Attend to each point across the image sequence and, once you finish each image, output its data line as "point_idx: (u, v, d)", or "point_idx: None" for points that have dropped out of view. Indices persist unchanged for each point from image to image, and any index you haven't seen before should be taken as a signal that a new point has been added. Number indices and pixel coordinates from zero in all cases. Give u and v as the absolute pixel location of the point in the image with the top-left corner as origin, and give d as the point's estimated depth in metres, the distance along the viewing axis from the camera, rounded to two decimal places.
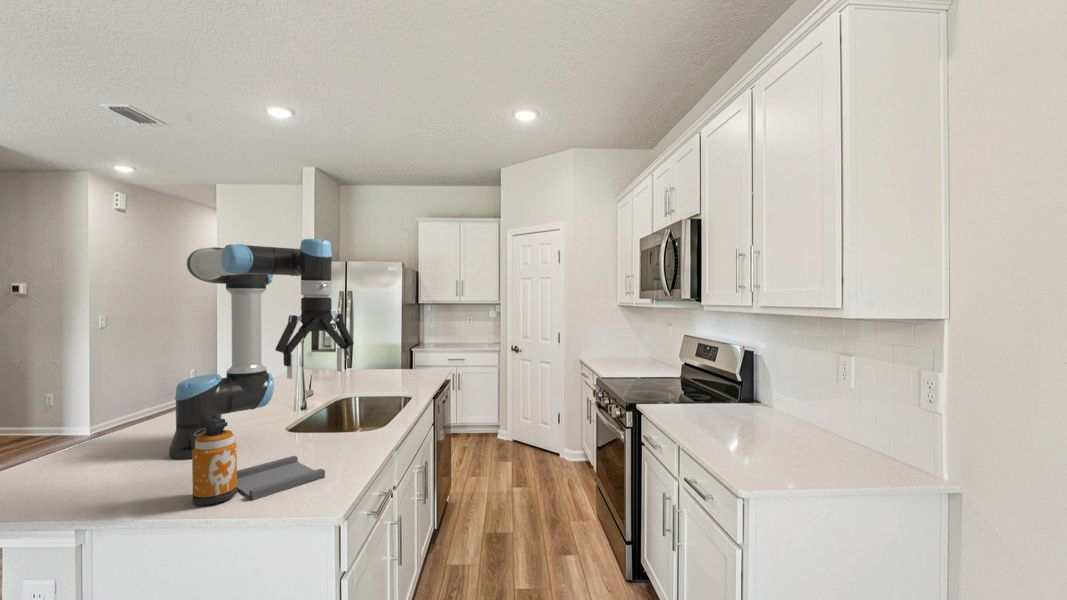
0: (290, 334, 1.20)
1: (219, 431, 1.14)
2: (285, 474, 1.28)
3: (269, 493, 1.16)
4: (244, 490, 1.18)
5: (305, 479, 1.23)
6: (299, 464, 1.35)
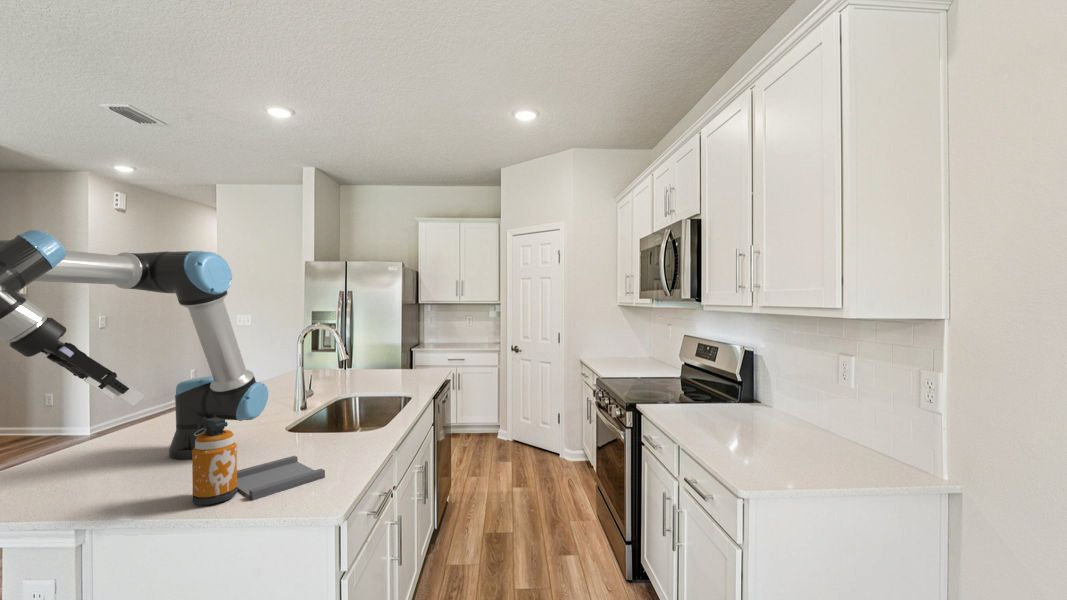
0: None
1: (219, 431, 1.14)
2: (285, 474, 1.28)
3: (269, 493, 1.16)
4: (244, 490, 1.18)
5: (305, 479, 1.23)
6: (299, 464, 1.35)
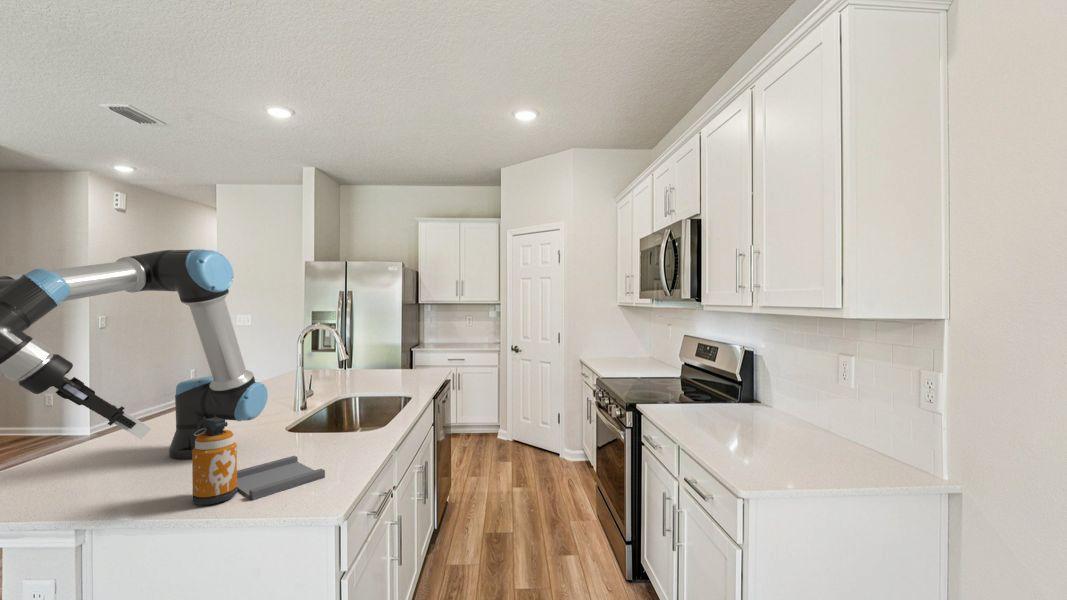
0: None
1: (219, 431, 1.14)
2: (285, 474, 1.28)
3: (269, 493, 1.16)
4: (244, 490, 1.18)
5: (305, 479, 1.23)
6: (299, 464, 1.35)
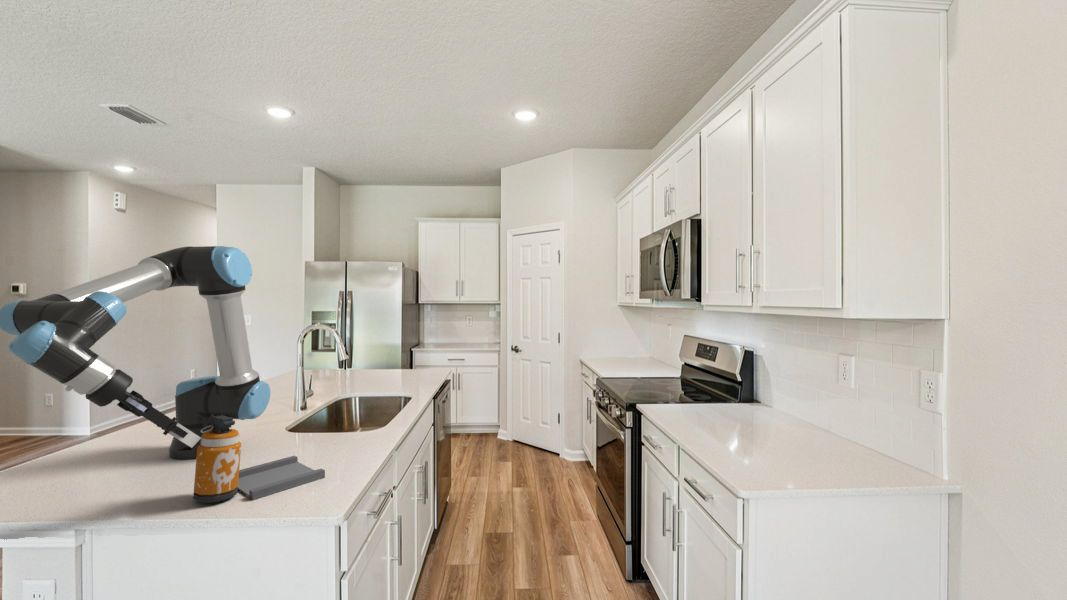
0: None
1: (225, 429, 1.15)
2: (285, 474, 1.28)
3: (269, 493, 1.16)
4: (244, 490, 1.18)
5: (305, 479, 1.23)
6: (299, 464, 1.35)
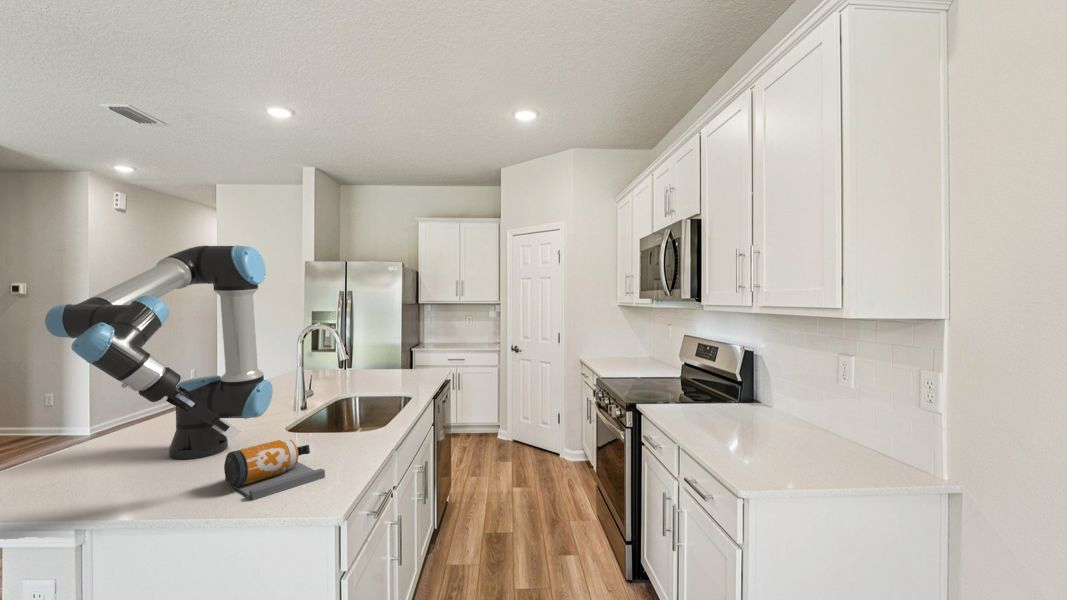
0: None
1: None
2: (285, 474, 1.28)
3: (269, 493, 1.16)
4: (244, 490, 1.18)
5: (305, 479, 1.23)
6: (299, 464, 1.35)
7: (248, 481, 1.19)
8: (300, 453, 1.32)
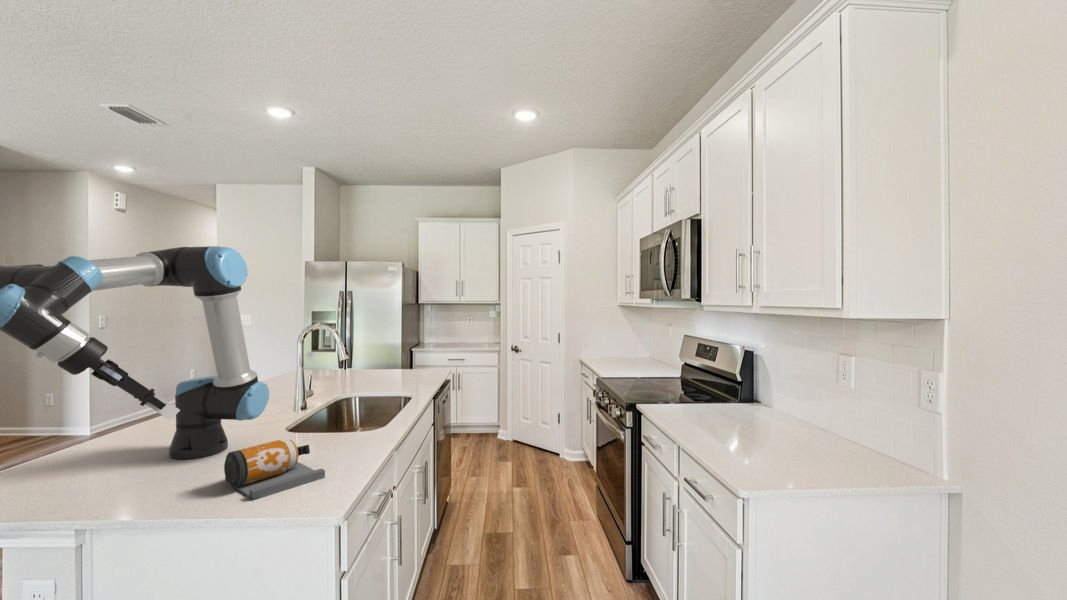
0: None
1: None
2: (285, 474, 1.28)
3: (269, 493, 1.16)
4: (244, 490, 1.18)
5: (305, 479, 1.23)
6: (299, 464, 1.35)
7: (248, 481, 1.19)
8: (300, 453, 1.32)
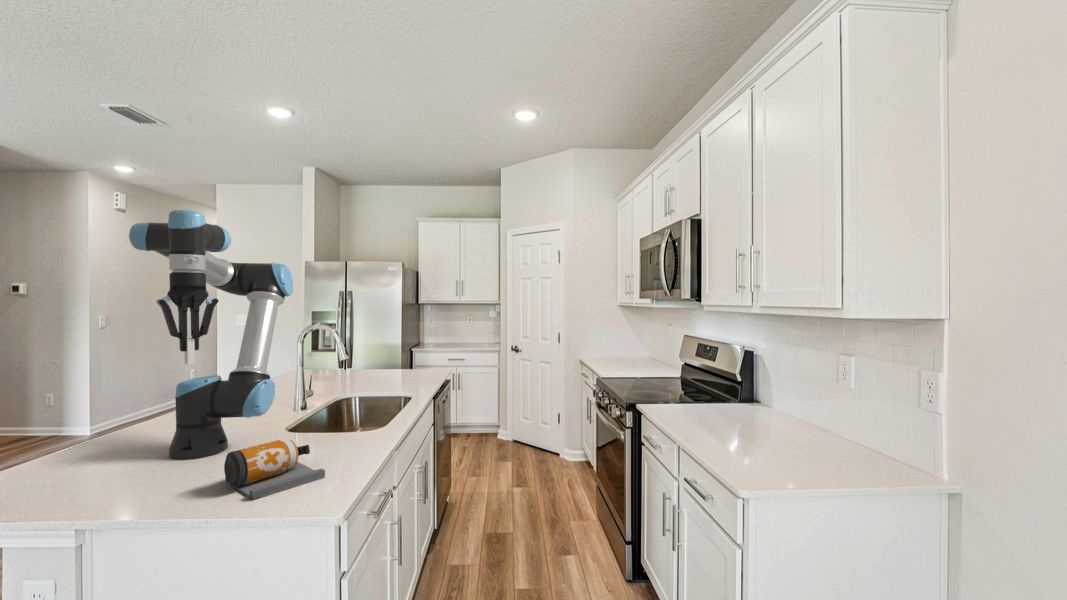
0: (171, 317, 1.16)
1: None
2: (285, 474, 1.28)
3: (269, 493, 1.16)
4: (244, 490, 1.18)
5: (305, 479, 1.23)
6: (299, 464, 1.35)
7: (248, 481, 1.19)
8: (300, 453, 1.32)
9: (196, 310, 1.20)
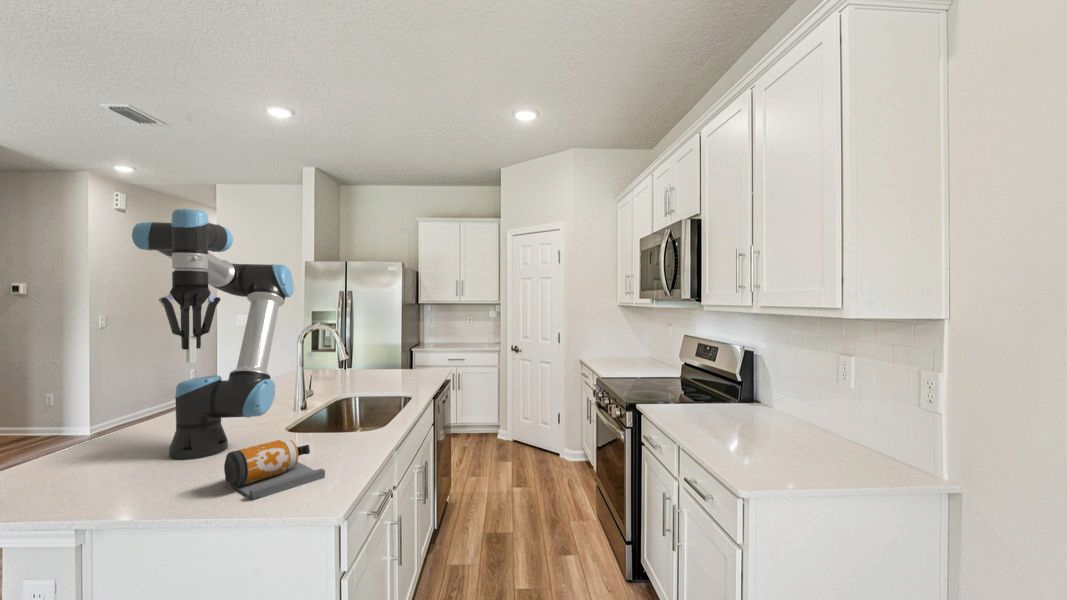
0: (174, 316, 1.17)
1: None
2: (285, 474, 1.28)
3: (269, 493, 1.16)
4: (244, 490, 1.18)
5: (305, 479, 1.23)
6: (299, 464, 1.35)
7: (248, 481, 1.19)
8: (300, 453, 1.32)
9: (198, 308, 1.21)
